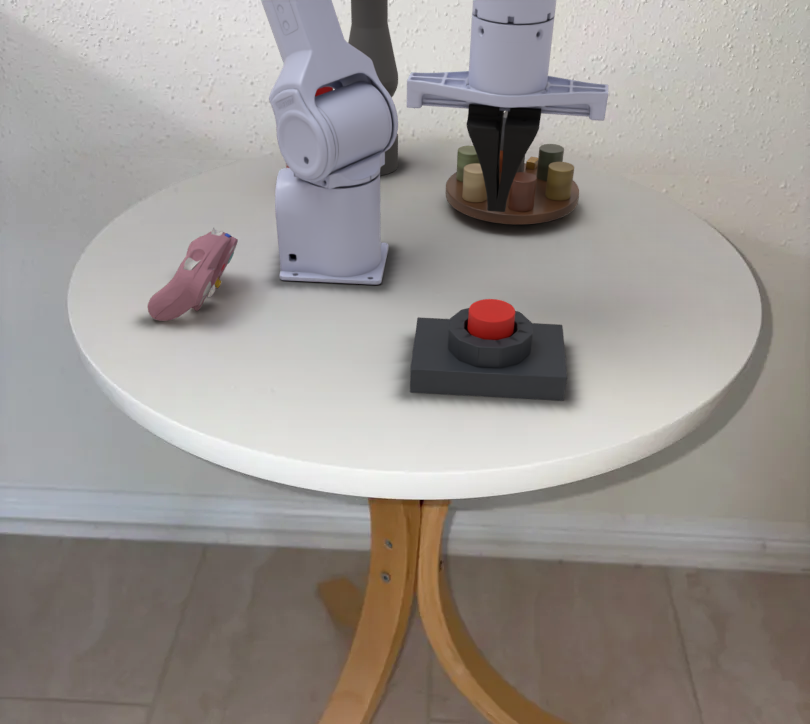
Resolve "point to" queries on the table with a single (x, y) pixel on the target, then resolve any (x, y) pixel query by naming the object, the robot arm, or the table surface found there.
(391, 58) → the candle holder
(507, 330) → the timer button
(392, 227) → the table surface
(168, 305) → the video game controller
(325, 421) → the table surface
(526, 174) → the spice carousel
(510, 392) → the timer block
